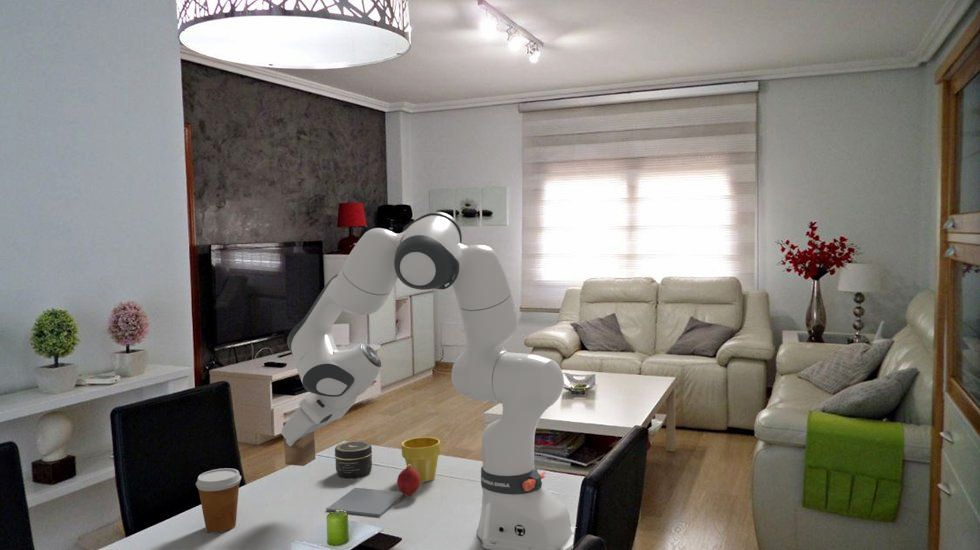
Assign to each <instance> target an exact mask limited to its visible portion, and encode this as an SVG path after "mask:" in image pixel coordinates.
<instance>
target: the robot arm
mask: <svg viewBox="0 0 980 550" xmlns="http://www.w3.org/2000/svg"><path fill="white" fill-rule="evenodd" d="M402 228H403V229H402V232H400V233H397V232H396V233H395V232H394V231H392V230H389V229H387V228H382V227H374V228H371V229H369V230H367V231H365V233H363V235H362V236H361V238H359V240H358V241H357V243H356V244H355V245H354V247H353V248H352V249H351V251H350V253H349V254H348V256H347V258H346V260H345V261H344V263H343V265H342V267H341V269H340V271H339V273H337V274H335V275H334V276H333V277H332V278H330V280H329V281H328V282H326V284H325V286H324V287H323V289H322V290H321V292H320V293H319V294H318V296H317V297H316V300H315V301H314V303H313V304H312V306H311V307H310V309H309V310H308V312H307V314H306V315H305V316H304V317H303V318H302V319H301V320H300V321H299V322H298V323H296V325H294V327H293V328H292V329H291V330H290V332H289V334H288V335H287V339H286V340H287V342H286V343H287V346H288V349H289V351H290V353H291V355H292V357H293V361H294V363H295V366H296V370H297V372H298V376H299V378H300V381H301V383H302V386H303V388H304V389H305V390H306V391H308V392H309V394H308V395H306V396H305V397H304V398H302V399H301V401H299V403H298V406H299V407H298V408H297V409H296V410H295V411H294V412H293V414H292V415H291V416H290V417H289V419H288V420H286V421H287V423H286V424H285V425H284V427H282V428H281V431H280V432H281V433H280V434H281V435H282V436H283V438H284V437H285V438H286V443H287V444H288V445H289V446H292V445H294V444H295V443H296V442H297V441H298V439H300V438H302V437H304V436H306V435H307V434H309V433H311V432H313V431H314V432H316V431H317V430H319V429H321V428H323V427H325V426H326V425H328V424H330V423H332V422H334V421H337V420H340V419H342V417H344V416H345V414H346V413H347V412H348V411H349V409H350V408H352V407H353V405H354V404H355V403H356V401H357V399H358V398H359V396H361V395H363V394H364V393H365V392H366V391H367V389H368V388H369V387H370V386H371V385H372V384H373V383H374V381H375V380H376V379H377V378H378V376H379V374H380V372H381V370H382V362H381V359H380V357H379V355H378V353H377V352H376V351H375V350H374V348H372V347H371V346H370V345H368V344H366V343H362V342H361V343H359V344H357V345H355V346H354V347H352V348H348V349H344V350H343V349H340V350H338V348H337V344H336V342H335V339H334V334H333V326H334V324H335V322H336V321H337V320H338V318H339V316H340V315H341V313H342V312H343V311H344V312H346V313H349V314H351V315H357V316H367V315H372V314H374V313H376V312H378V311H379V310H380V309H381V307H382V306H383V305H384V304H385V303H386V301H387V300H388V298H389V296H390V295H391V292H392V290H393V289H394V288H395V287H394V286H395V285H396V283H397V282H398V279H399V281H400V282H402V284H404V285H405V286H406V287H409V288H411V289H414V290H421V291H423V290H425V291H426V290H434V289H436V290H447V289H448V288H450V287H452V289H453V291H454V292H453V293H454V294H455V298H456V301H457V305H458V309H459V313H460V316H461V320H462V323H463V324H462V325H463V329H464V333H465V334H464V335H465V346H464V350H463V352H462V353H461V354H460V355H459V356H458V357H457V358H456V359H455V361H454V362H453V365H452V369H451V382H452V385H453V388H454V389H455V392H457V393H458V394H459V395H462V396H463V397H466V398H469V399H472V400H475V401H478V402H486V403H493V404H501V406H502V412H501V413H502V414H501V417H500V418H498V419H497V420H494V421H493V422H491V423H489V424H488V425H487V426H486V427H485V429H484V431H483V432H482V435H481V436H482V437H481V450H482V453H481V455H482V466H481V468H480V486H481V490H482V502H481V511H480V515H479V516H480V518H479V521H478V526H477V529H476V534H477V537H478V538H479V539H480V540H481V542H482V543H481V544H482V547H483V548H484V549H486V550H571V549H572V546H573V538H574V528H576V527H575V526H573V525H572V524H571V517H570V514H569V513H570V512H569V510H568V507H567V506H566V505H565V504H564V503H563V502H561V501H560V500H559V499H558V498H557V497H555V496H554V494H552V493H551V492H550V491H549V490H548V489H547V488H546V487H545V486H544V485H543V481H542V479H545V477H546V475H545V474H546V471H543V472H542V473H539V471H538V469H537V467H536V465H535V435H536V431H537V427H538V424H539V421H540V419H541V417H542V415H543V414H544V413H545V412H546V411H547V409H549V408H550V407H551V406H553V405H554V404H556V402H557V401H558V400H559V398H560V397H561V395H562V393H563V390H564V384H565V381H564V373H563V371H562V368H561V366H560V365H559V364H558V362H557V361H555V360H554V359H552V358H548V357H546V356H543V355H538V354H536V353H535V354H534V353H533V354H532V353H519V352H510V351H507V350H506V349H505V347H504V344H505V343H507V342H508V341H510V339H512V338H513V336H514V335H515V334H516V332H517V329H518V326H519V318H518V314H517V309H516V307H515V302H514V298H513V295H512V294H513V293H512V290H511V286H510V283H509V280H508V277H507V274H506V272H505V269H504V267H503V264H502V262H501V260H500V258H499V256H498V254H497V252H496V251H495V250H494V249H493V248H492V247H491V246H488V245H484V244H471V245H465V244H463V243H462V241H463V237H462V236H463V235H462V231H461V227H460V224H459V223H458V221H457V220H456V219H455V218H454V217H453V216H452V215H450V214H448V213H446V212H442V211H433V212H428V213H426V214H424V215H422V216H420V217H418V218H416V219H415V220H413V221H411V222H410V223H407V224H406V225H404V227H402ZM572 550H573V549H572Z"/></svg>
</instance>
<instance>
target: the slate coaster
mask: <svg viewBox="0 0 980 550" xmlns="http://www.w3.org/2000/svg"><path fill="white" fill-rule="evenodd" d="M404 496H405V495H404V494H403V493H402V492H401V491H395V490H386V489H375V488H373V489H372V488H364V487H362V488H361V487H354V488H352V489H351V490H350V491H348V492H347V493H346V494H344V495H343V496H341V497H340V498H339V499H337V500H336V501H334V502H333V503H332V504H331V505H329V506H328V507H327V508H325V509H326V512H331V511H336V510H343V511H346V512H348V513H347V514H348V515H349V514H352V515H358V516H361V515H362V516H370V517H379V518H380V517H382V516H383V515H384V514H385V513H386V512H387V511H388V510H390V509H391V508H392V507H393V506H394V505H395V504H397V503H398V502H399V501H400V500H401V499H402V498H403V497H404Z"/></svg>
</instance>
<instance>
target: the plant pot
mask: <svg viewBox="0 0 980 550" xmlns="http://www.w3.org/2000/svg"><path fill="white" fill-rule="evenodd" d="M441 446H442V445H441V440H440V439H439V438H437V437H431V436H420V437H419V436H418V437H412V438H409V439H408V438H407V439H406V440H403V441H402V442H401V446H400V447H401V456H402V458H403V459H404V460H405V466H407V465H409V464H411V465H412V468H413V469H414V470H416V471H417V472H418V474H419V476H420V480H421V483H425V482H431V481H432V480H435V478H436V473H437V465H438V461H439V460H438V459H439V456H440V454H441V451H442V450H441V448H442V447H441ZM430 480H431V481H430Z"/></svg>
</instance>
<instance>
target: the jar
mask: <svg viewBox="0 0 980 550" xmlns="http://www.w3.org/2000/svg"><path fill="white" fill-rule="evenodd" d="M372 449H373V448H372V444H371V443H370V442H368V441H362V440H354V441H353V440H351V441H346V442H343V443H339V444H337V445H336V446H335V448H334V458H335V471H336V474H337V475H338V477H340V478H342V479H350V480H351V479H360V478H364V477H366V476H368V475H369V474H371V471H372V468H373V450H372Z"/></svg>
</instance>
